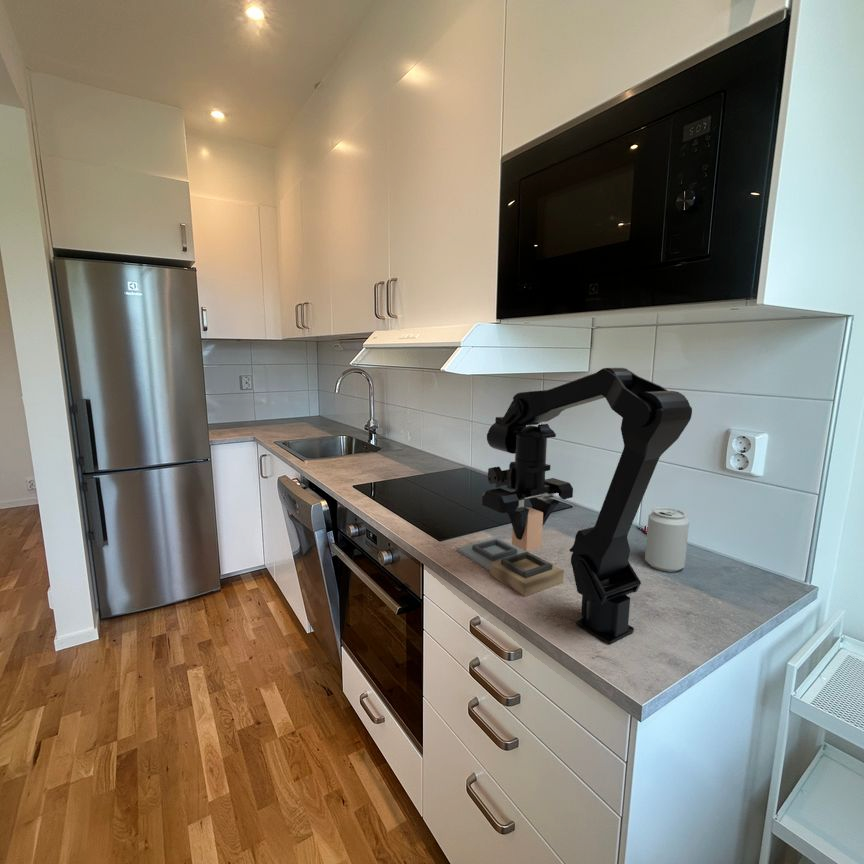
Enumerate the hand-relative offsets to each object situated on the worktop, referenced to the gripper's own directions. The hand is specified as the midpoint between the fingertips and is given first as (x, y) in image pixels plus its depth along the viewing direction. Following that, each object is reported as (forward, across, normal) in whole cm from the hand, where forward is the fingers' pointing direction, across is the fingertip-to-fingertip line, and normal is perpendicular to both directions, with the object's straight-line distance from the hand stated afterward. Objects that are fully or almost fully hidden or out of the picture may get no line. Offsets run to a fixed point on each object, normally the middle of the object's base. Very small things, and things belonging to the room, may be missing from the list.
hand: (527, 536), depth 88 cm
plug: (+2, 0, 0) cm, 2 cm away
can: (+9, -29, +11) cm, 32 cm away
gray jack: (+9, -2, -12) cm, 15 cm away
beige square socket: (+9, 0, 0) cm, 9 cm away
